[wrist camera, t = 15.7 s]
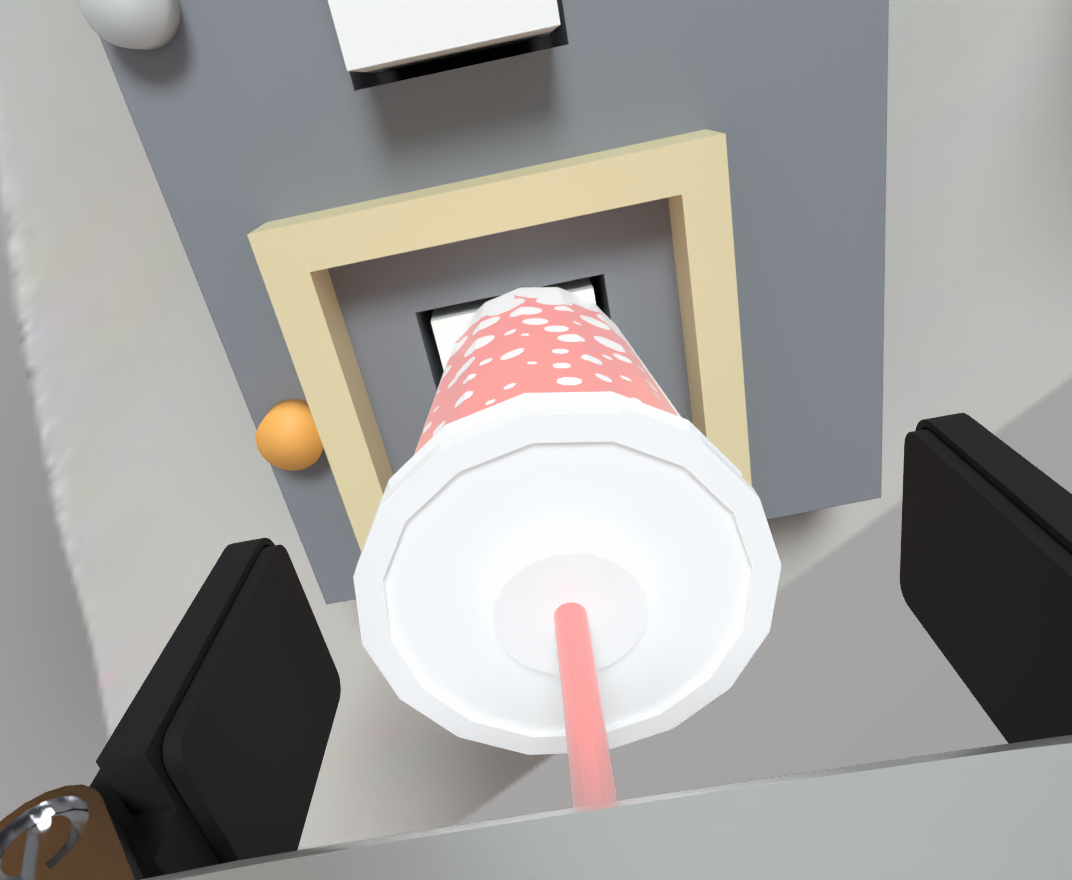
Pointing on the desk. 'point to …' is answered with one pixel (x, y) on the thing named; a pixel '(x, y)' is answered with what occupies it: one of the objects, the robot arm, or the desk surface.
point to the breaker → (433, 29)
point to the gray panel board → (529, 224)
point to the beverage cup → (562, 547)
